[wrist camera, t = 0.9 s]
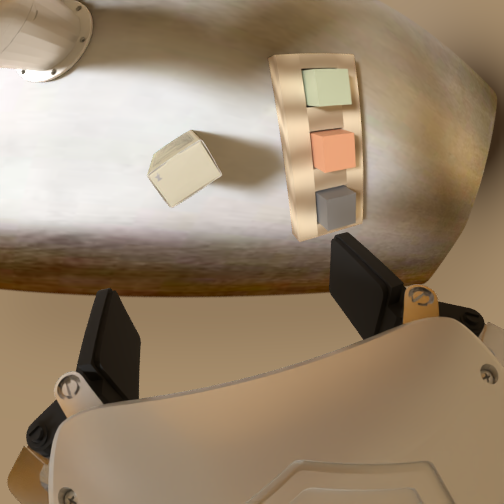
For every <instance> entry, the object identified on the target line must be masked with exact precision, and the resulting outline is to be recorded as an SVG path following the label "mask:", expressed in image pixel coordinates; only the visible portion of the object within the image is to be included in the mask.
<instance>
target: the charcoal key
mask: <svg viewBox="0 0 504 504" xmlns="http://www.w3.org/2000/svg"><path fill="white" fill-rule="evenodd" d="M315 197H316V212H317V221H318V222H319V223H320V224H321V225H322V226H323V227H324V228H325V229H326V230H327V231H330V230H333V229H337V228H340V227H343V226H347V225H350V224H354V223H356V193H355V192H354V191H352V190H350V189H349V188H347V187H345V186H344V185H341V186H337V187H332V188H328V189H324V190H319V191H315Z"/></svg>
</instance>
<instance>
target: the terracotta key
mask: <svg viewBox="0 0 504 504" xmlns="http://www.w3.org/2000/svg"><path fill="white" fill-rule="evenodd" d="M310 140H311V150H312V160H313V166H314V167H315V168H317V169H319V170H321V171H323V172H324V173H328V172H333V171H338V170H343V169H348V168H353V167H356V162H355V140H354V133H353V132H350V131H346V130H342V129H333V130H325V131H318V132H311V133H310Z"/></svg>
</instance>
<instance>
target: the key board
mask: <svg viewBox="0 0 504 504" xmlns="http://www.w3.org/2000/svg"><path fill="white" fill-rule="evenodd" d="M268 62H269V67H270V73H271V79H272V85H273V91H274V97H275V103H276V109H277V116H278V122H279V129H280V136H281V143H282V150H283V158H284V165H285V173H286V181H287V189H288V197H289V206H290V215H291V224H292V233H293V235H294V236H295V237H296V238H297V239H298V241H299V242H301V241H304V240H308V239H311V238H315V237H318V236H321V235H325V234H328V233H332V232H335V231H338V230H342V229H345V228H349V227H352V226H355V225H359V224H362V222H363V148H362V128H361V113H360V102H359V91H358V82H357V74H356V67H355V60H354V54H335V53H301V54H281V55H274V56H271V57H269V58H268ZM306 69H348V75H349V83H350V91H351V101H352V104H349V105H333V106H321V107H317V106H306V99H305V92H304V85H303V79H302V72H301V70H306ZM326 129H342V130H346V131H350V132H353V133H354V140H355V162H356V167H353V168H348V169H343V170H338V171H333V172H328V173H324V172H323V171H321V170H319V169H317V168H315V167H314V166H313V160H312V150H311V140H310V132H311V131H318V130H326ZM341 185H344V186H345V187H347V188H349V189H350V190H352V191H354V192H355V193H356V223H354V224H350V225H347V226H343V227H340V228H337V229H333V230H330V231H327V230H326V229H325V228H324V227H323V226H322V225H321V224H320V223H319V222H318V221H317V212H316V197H315V191H319V190H324V189H328V188H332V187H337V186H341Z"/></svg>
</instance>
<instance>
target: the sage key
mask: <svg viewBox="0 0 504 504" xmlns="http://www.w3.org/2000/svg"><path fill="white" fill-rule="evenodd" d="M301 72H302V79H303V85H304V92H305V99H306V105H308V106H317V107H321V106H333V105H349V104H352V101H351V91H350V83H349V75H348V69H311V70H304V71H301Z"/></svg>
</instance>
